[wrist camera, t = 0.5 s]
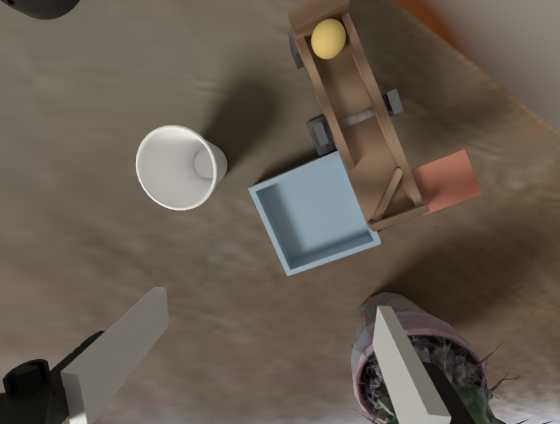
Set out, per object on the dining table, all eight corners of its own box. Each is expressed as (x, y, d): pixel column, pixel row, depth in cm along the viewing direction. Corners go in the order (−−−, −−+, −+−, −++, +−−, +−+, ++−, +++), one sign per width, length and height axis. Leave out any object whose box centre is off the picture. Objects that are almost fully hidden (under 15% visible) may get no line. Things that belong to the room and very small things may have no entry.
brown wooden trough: (288, 38, 31) (283, 13, 27) (391, -16, 29) (403, -51, 24) (365, 232, 31) (371, 239, 27) (473, 194, 29) (499, 194, 25)
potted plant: (472, 331, 44) (679, 556, 20) (367, 377, 48) (430, 611, 24) (421, 244, 41) (586, 379, 17) (314, 300, 45) (324, 475, 21)
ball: (307, 41, 29) (305, 21, 26) (337, 26, 29) (339, 3, 25) (318, 70, 29) (318, 54, 26) (349, 56, 29) (352, 37, 25)
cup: (241, 134, 40) (218, 128, 29) (238, 198, 42) (215, 214, 32) (178, 128, 40) (133, 120, 30) (178, 191, 43) (136, 205, 32)
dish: (253, 184, 41) (248, 188, 38) (342, 147, 39) (346, 147, 35) (289, 265, 44) (287, 276, 40) (374, 234, 41) (381, 243, 38)
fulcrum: (306, 123, 39) (306, 114, 28) (370, 95, 37) (394, 74, 27) (318, 155, 39) (323, 158, 29) (381, 129, 38) (409, 122, 28)
